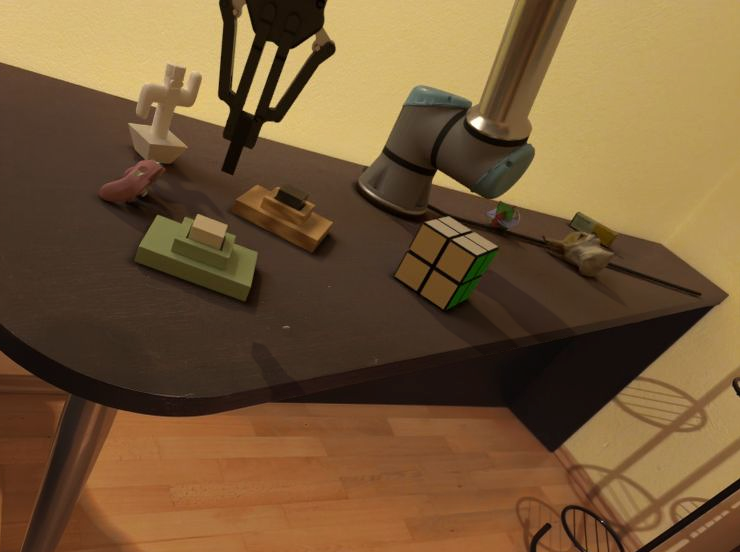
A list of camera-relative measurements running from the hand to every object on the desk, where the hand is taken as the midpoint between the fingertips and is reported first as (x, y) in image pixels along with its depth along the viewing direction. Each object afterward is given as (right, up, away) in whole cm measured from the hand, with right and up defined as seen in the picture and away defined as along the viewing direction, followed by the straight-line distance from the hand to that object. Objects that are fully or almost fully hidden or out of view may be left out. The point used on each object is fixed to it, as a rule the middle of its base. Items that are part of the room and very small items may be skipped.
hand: (228, 169), depth 74 cm
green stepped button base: (-4, -10, +7) cm, 13 cm away
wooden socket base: (+6, -1, +28) cm, 28 cm away
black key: (+8, +2, +26) cm, 27 cm away
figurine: (-15, +11, +30) cm, 35 cm away
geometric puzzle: (+55, +6, +70) cm, 89 cm away
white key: (-3, -7, +5) cm, 10 cm away
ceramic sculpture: (+72, -1, +71) cm, 101 cm away
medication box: (+90, +10, +99) cm, 134 cm away
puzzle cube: (+30, -11, +29) cm, 43 cm away
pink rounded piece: (-15, 0, +16) cm, 22 cm away
